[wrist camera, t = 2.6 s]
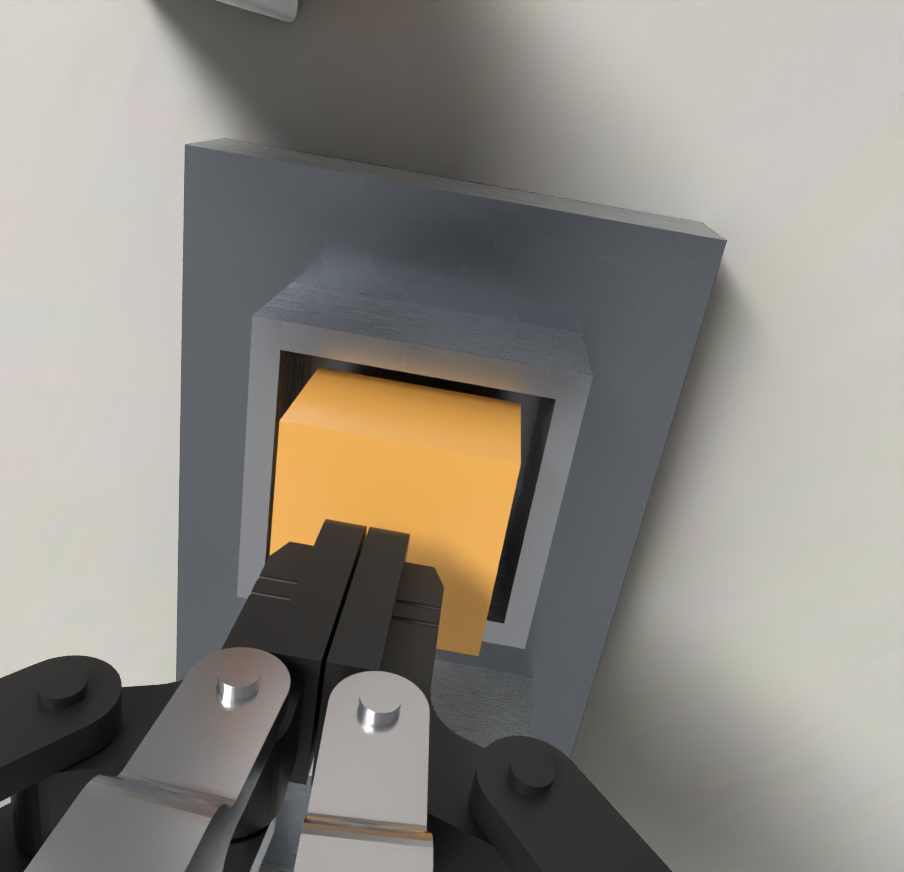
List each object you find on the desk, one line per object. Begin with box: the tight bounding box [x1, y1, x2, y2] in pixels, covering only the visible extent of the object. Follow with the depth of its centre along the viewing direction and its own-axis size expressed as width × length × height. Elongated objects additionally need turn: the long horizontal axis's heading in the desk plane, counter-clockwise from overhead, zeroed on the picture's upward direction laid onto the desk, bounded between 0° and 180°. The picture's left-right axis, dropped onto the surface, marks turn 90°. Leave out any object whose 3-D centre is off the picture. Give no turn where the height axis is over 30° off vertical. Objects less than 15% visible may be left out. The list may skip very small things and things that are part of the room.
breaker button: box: [270, 367, 521, 656], centre depth 16 cm, size 4×4×3 cm
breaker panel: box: [176, 138, 727, 872], centre depth 21 cm, size 12×24×6 cm, turn 171°
